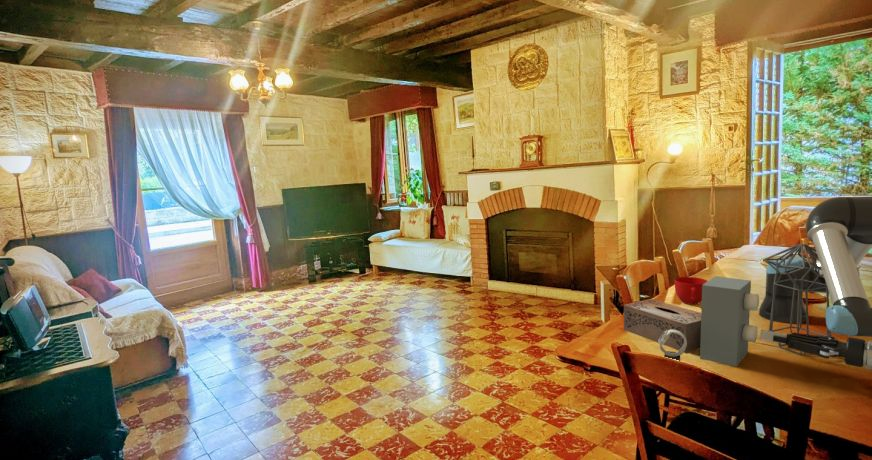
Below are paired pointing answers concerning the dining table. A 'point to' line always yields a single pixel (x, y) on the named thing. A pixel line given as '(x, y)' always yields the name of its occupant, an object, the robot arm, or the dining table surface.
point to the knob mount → (724, 320)
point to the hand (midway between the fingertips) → (760, 334)
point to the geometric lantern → (812, 255)
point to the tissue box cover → (663, 323)
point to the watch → (665, 337)
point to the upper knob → (751, 301)
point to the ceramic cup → (689, 289)
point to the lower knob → (749, 333)
